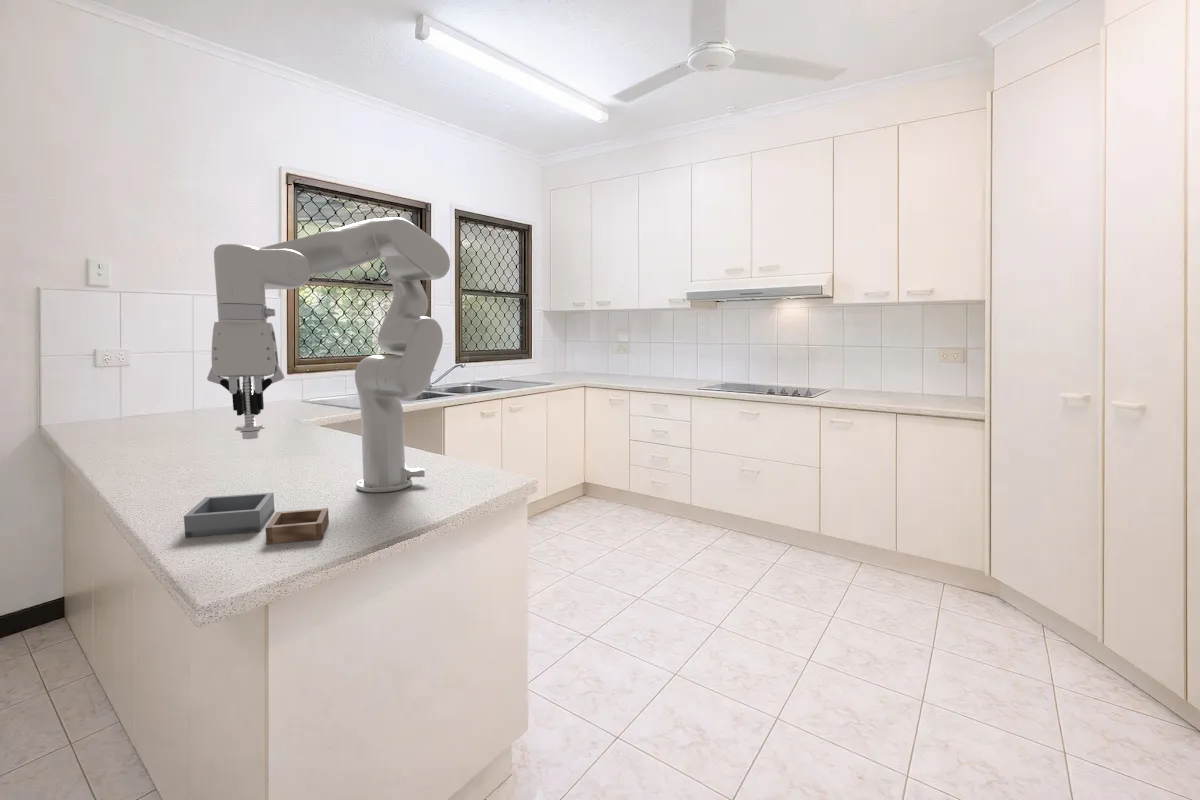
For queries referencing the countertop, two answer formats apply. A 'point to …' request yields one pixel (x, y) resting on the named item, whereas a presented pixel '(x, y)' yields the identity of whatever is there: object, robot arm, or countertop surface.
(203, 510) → the bin
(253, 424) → the screw
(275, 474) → the countertop surface
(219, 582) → the countertop surface
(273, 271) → the robot arm
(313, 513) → the frame
